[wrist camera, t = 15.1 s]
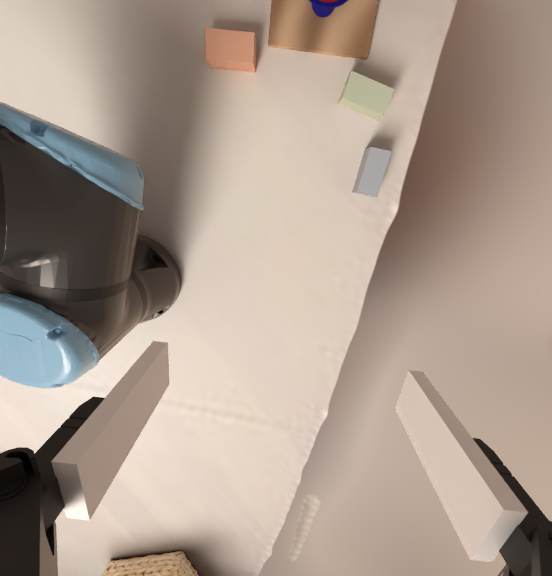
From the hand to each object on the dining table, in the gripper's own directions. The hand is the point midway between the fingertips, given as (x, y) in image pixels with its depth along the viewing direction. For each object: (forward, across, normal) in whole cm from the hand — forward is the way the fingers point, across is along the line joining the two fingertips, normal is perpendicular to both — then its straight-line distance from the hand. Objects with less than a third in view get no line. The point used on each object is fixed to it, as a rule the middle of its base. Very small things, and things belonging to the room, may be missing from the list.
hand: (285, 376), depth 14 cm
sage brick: (+32, +8, +22) cm, 40 cm away
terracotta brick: (+32, -10, +25) cm, 42 cm away
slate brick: (+32, +11, +13) cm, 36 cm away
